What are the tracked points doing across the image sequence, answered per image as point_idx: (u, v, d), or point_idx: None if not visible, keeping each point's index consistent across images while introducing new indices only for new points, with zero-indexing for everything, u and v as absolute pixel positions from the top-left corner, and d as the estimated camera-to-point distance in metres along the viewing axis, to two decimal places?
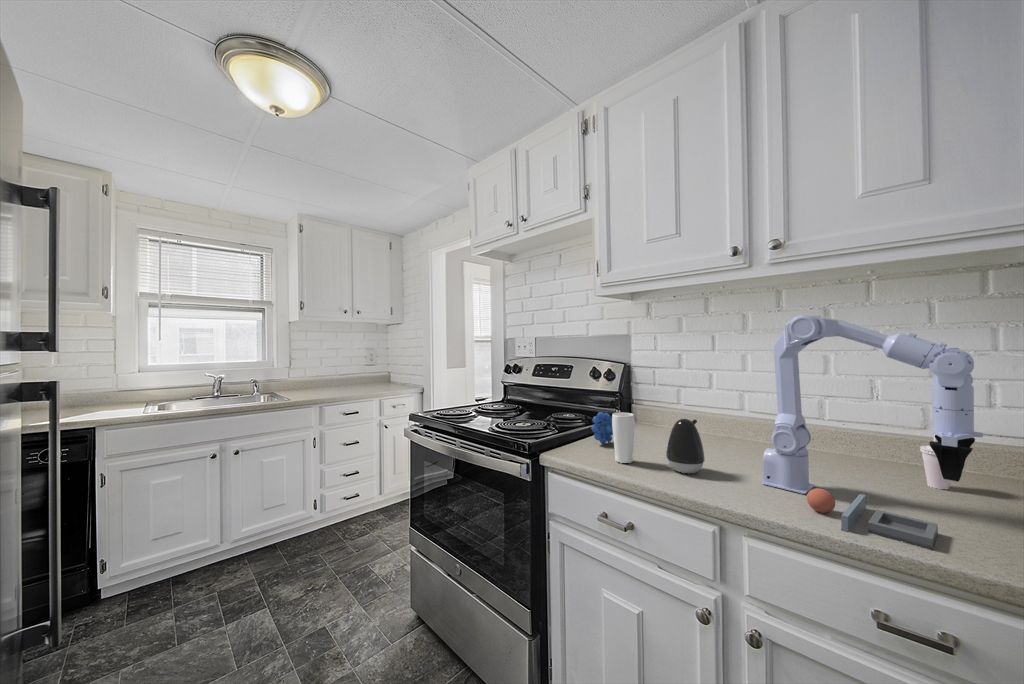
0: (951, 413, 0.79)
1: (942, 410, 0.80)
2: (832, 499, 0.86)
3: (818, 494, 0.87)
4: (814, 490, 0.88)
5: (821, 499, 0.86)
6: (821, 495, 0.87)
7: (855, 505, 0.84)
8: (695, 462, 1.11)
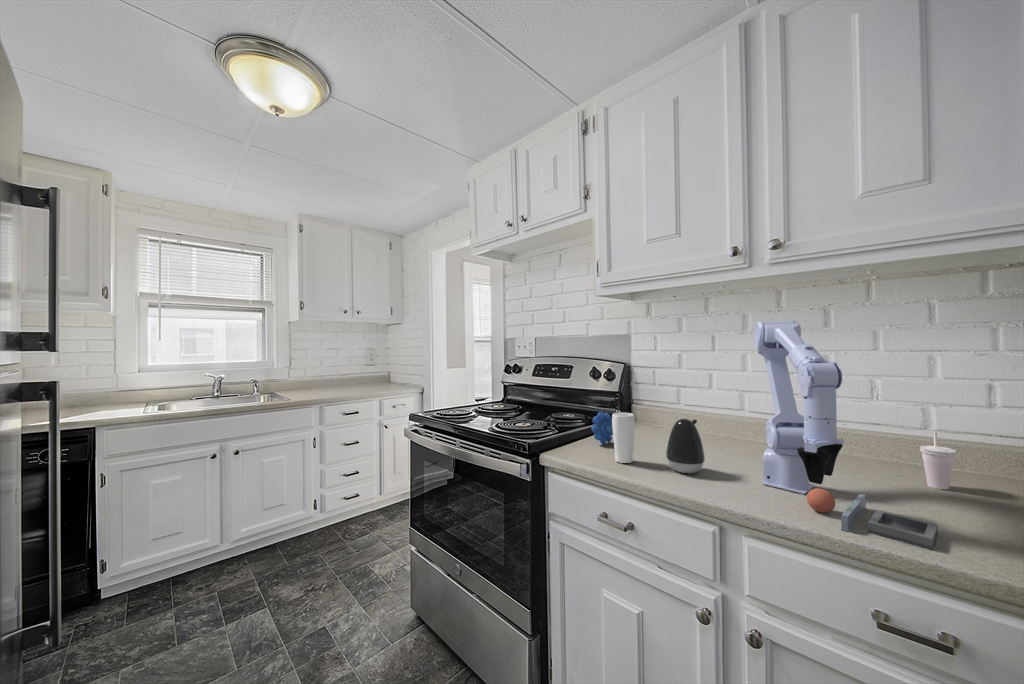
0: (816, 421, 0.86)
1: (809, 419, 0.87)
2: (832, 499, 0.86)
3: (818, 494, 0.87)
4: (814, 490, 0.88)
5: (821, 499, 0.86)
6: (821, 495, 0.87)
7: (855, 505, 0.84)
8: (695, 462, 1.11)
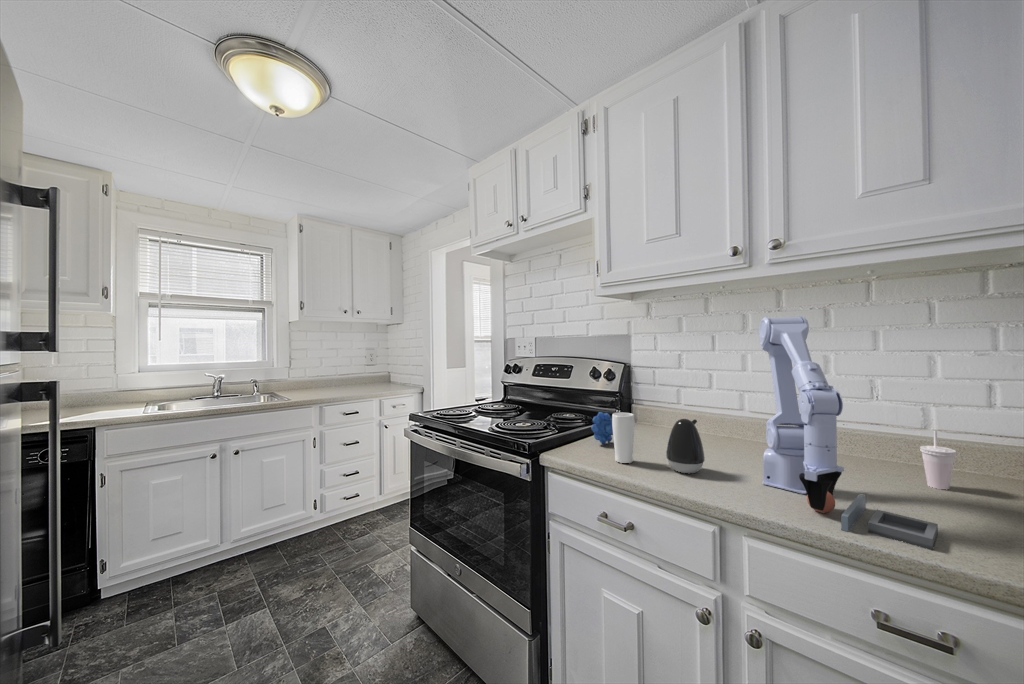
0: (816, 449, 0.86)
1: (810, 446, 0.87)
2: (832, 499, 0.86)
3: None
4: None
5: None
6: None
7: (855, 505, 0.84)
8: (695, 462, 1.11)
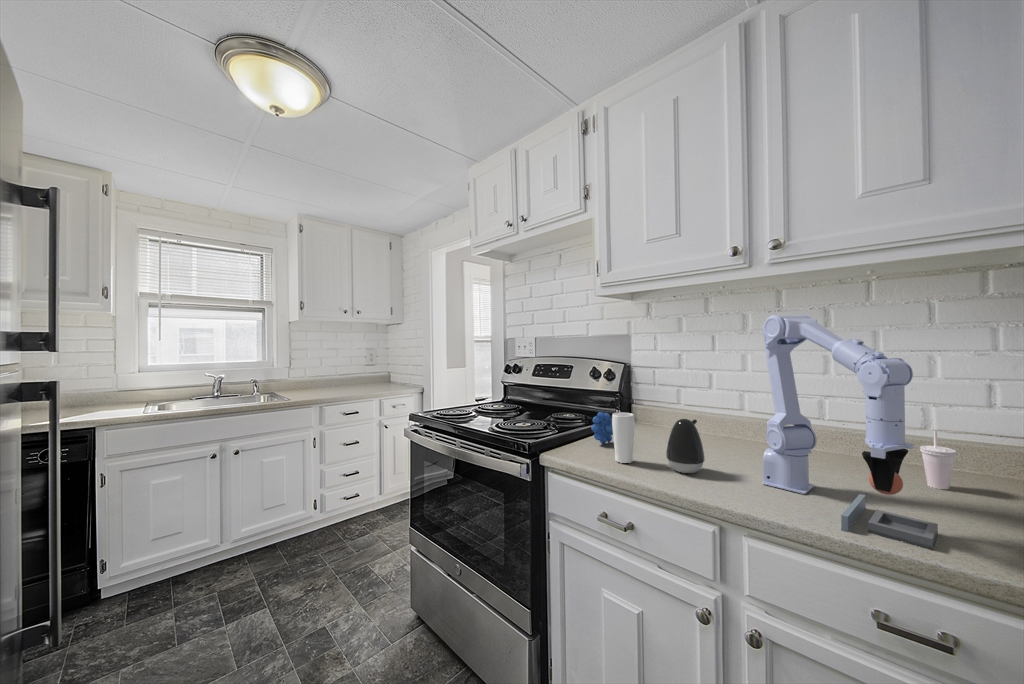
0: (882, 424, 0.78)
1: (874, 421, 0.79)
2: (900, 479, 0.78)
3: None
4: None
5: None
6: None
7: (855, 505, 0.84)
8: (695, 462, 1.11)
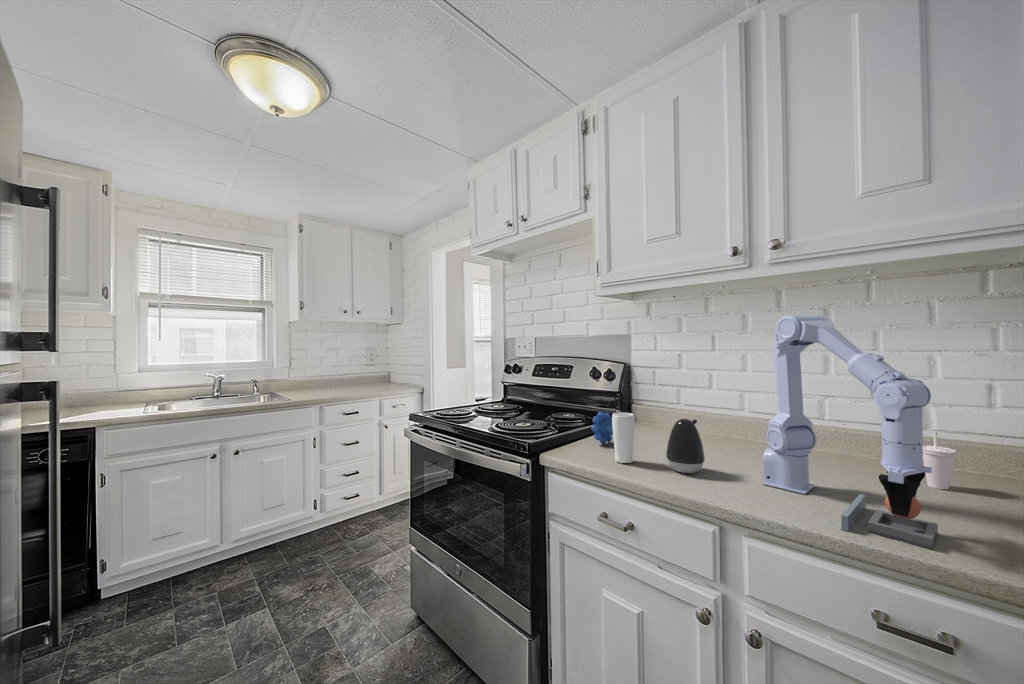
0: (899, 447, 0.76)
1: (891, 443, 0.77)
2: (917, 504, 0.76)
3: None
4: None
5: None
6: None
7: (855, 505, 0.84)
8: (695, 462, 1.11)
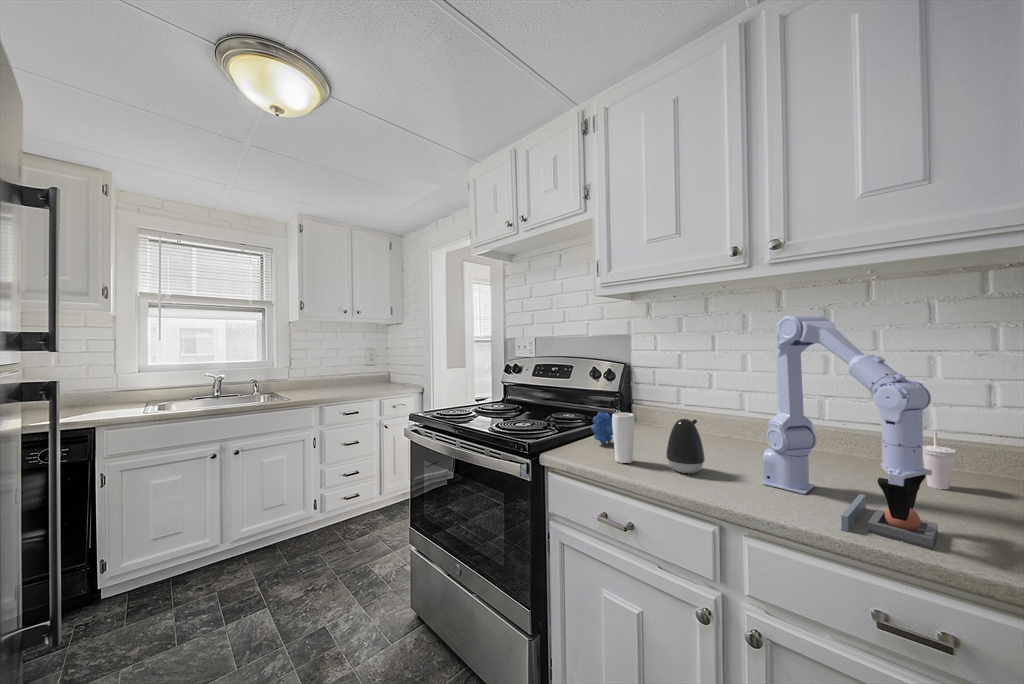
0: (899, 449, 0.76)
1: (891, 446, 0.77)
2: (917, 518, 0.76)
3: None
4: None
5: None
6: None
7: (855, 505, 0.84)
8: (695, 462, 1.11)
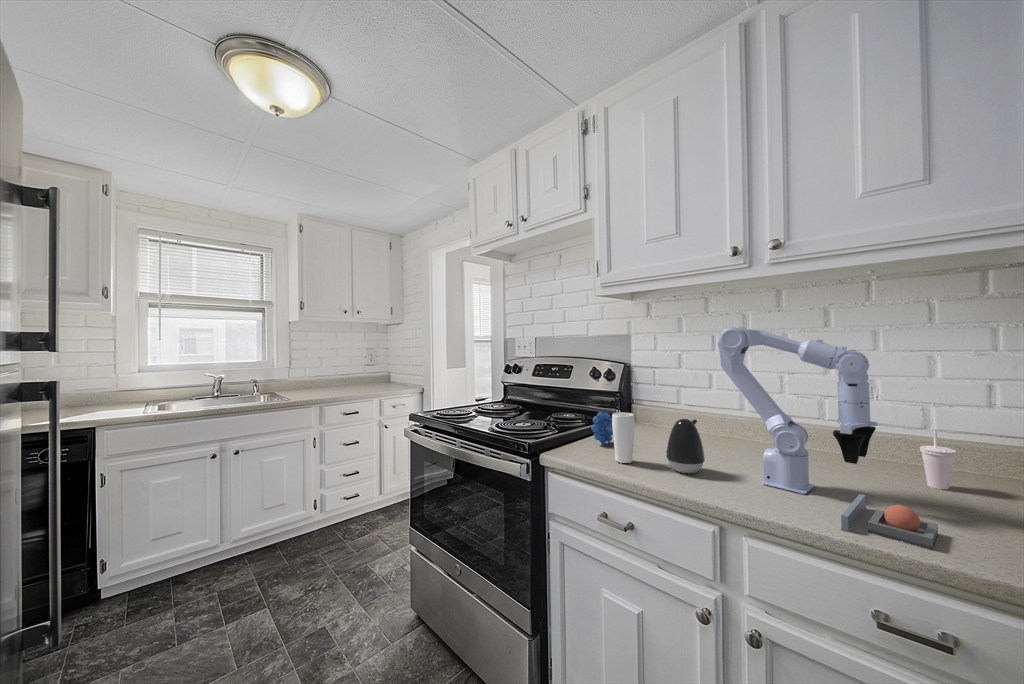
0: (850, 406, 0.93)
1: (844, 403, 0.94)
2: (917, 520, 0.75)
3: (900, 516, 0.76)
4: (894, 510, 0.77)
5: (904, 523, 0.76)
6: (904, 518, 0.76)
7: (855, 505, 0.84)
8: (695, 462, 1.11)
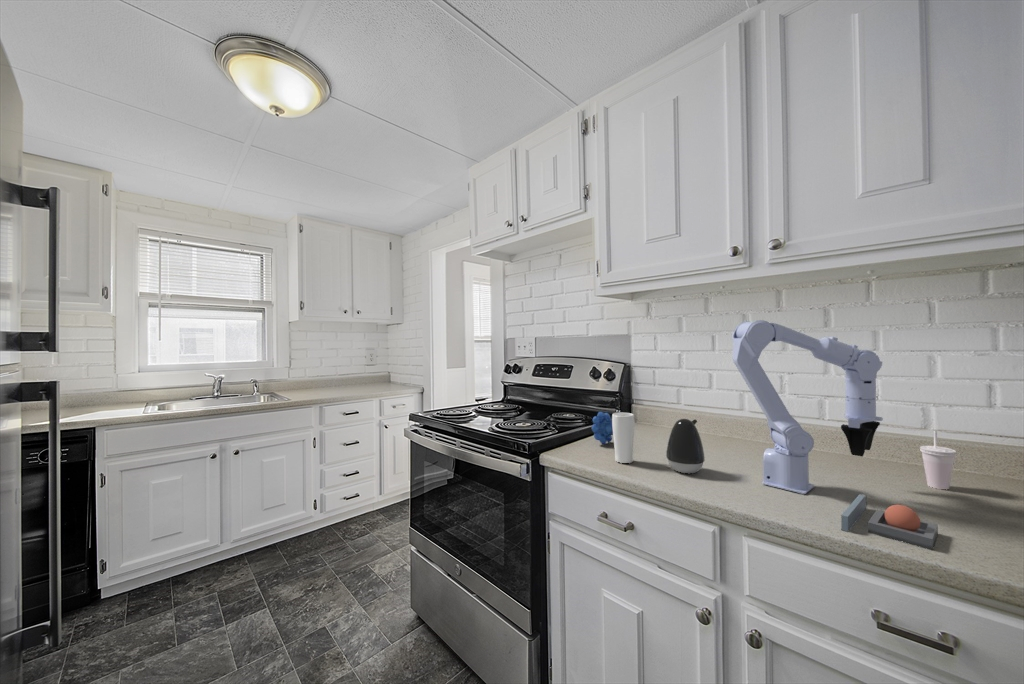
0: (858, 401, 0.98)
1: (851, 399, 0.99)
2: (917, 519, 0.76)
3: (900, 515, 0.76)
4: (894, 509, 0.78)
5: (904, 522, 0.76)
6: (904, 516, 0.76)
7: (855, 505, 0.84)
8: (695, 462, 1.11)
